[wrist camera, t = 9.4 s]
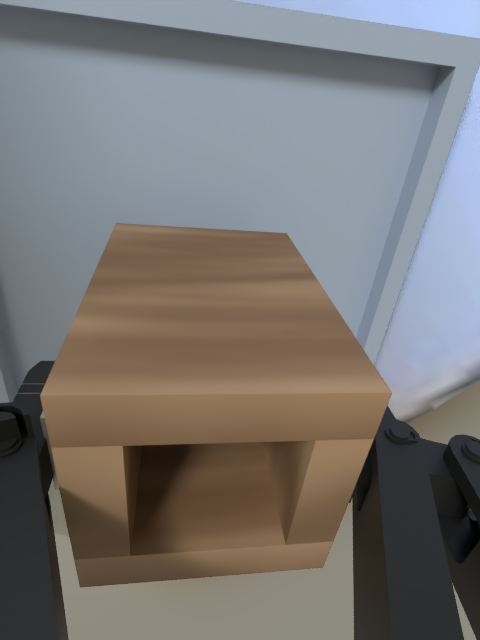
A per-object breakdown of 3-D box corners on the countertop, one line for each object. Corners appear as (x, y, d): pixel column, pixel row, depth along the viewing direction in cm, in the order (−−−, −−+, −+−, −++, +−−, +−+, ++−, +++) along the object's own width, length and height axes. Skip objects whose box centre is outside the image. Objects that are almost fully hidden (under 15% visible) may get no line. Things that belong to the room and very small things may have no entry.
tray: (13, 416, 25) (1, 440, 23) (-110, -43, 14) (-150, -58, 12) (340, 410, 29) (350, 431, 27) (458, 43, 17) (488, 40, 16)
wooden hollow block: (116, 223, 16) (40, 395, 7) (286, 233, 17) (392, 392, 8) (125, 388, 20) (85, 614, 12) (260, 387, 21) (312, 593, 13)
